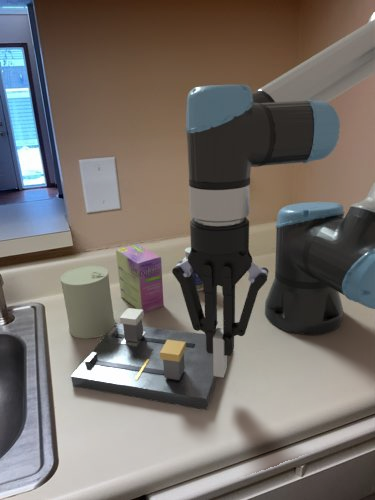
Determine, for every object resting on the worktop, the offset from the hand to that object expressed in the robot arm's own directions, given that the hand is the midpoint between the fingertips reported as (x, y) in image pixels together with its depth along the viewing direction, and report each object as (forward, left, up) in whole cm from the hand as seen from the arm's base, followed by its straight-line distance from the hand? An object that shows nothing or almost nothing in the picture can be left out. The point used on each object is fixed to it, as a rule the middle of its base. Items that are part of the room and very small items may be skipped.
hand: (220, 370), depth 57 cm
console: (+12, -4, -4) cm, 14 cm away
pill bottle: (+13, -34, -4) cm, 37 cm away
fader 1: (+18, -8, -2) cm, 20 cm away
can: (+29, -13, -4) cm, 32 cm away
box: (+23, -25, -4) cm, 35 cm away
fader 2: (+7, 0, -2) cm, 8 cm away
